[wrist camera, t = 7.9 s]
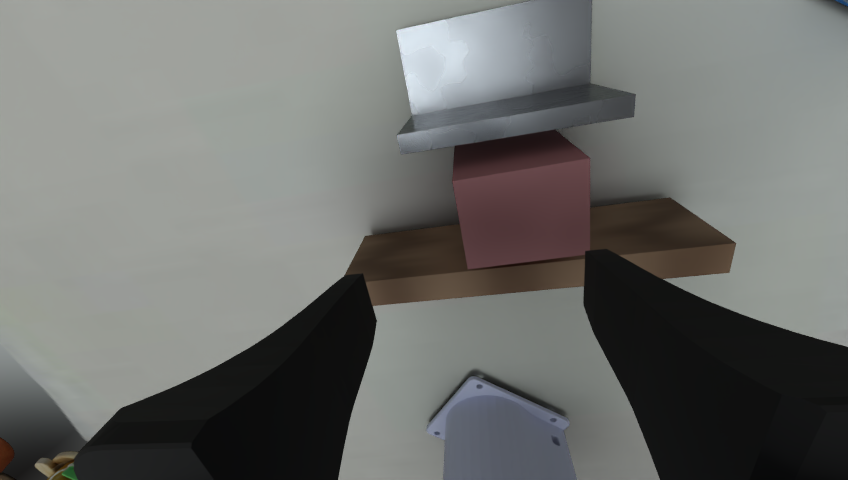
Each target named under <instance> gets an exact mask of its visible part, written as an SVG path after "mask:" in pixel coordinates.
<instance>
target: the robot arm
mask: <svg viewBox="0 0 848 480" xmlns="http://www.w3.org/2000/svg"><path fill="white" fill-rule="evenodd" d="M584 307H585V310H586V313H587V316H588V319H589V322H590V324H591V327H592V330H593V332H594V334H595V336H596V338H597V340H598V342H599V344H600V346H601V348H602V350H603V352H604V354H605V356H606V358H607V360H608V361H609V363H610V365H611V367H612V369H613V371H614V373H615V375H616V377H617V379H618V380H619V382H620V384H621V386H622V388H623V390H624V392H625V394H626V396H627V398H628V400H629V402H630V404H631V406H632V408H633V411H634V413H635V416H636V418H637V421H638V423H639V426H640V428H641V431H642V433H643V436H644V438H645V441H646V443H647V446H648V449H649V451H650V454H651V456H652V459H653V462H654V464H655V467H656V470H657V472H658V475H659V478H660V480H848V347H846V346H842V345H838V344H835V343H831V342H827V341H823V340H819V339H816V338H813V337H809V336H806V335H802V334H799V333H795V332H792V331H789V330H786V329H783V328H780V327H777V326H774V325H771V324H768V323H764V322H761V321H758V320H756V319H753V318H750V317H747V316H744V315H742V314H739V313H736V312H734V311H731V310H729V309H726V308H724V307H721V306H719V305H716V304H714V303H711V302H709V301H707V300H704V299H702V298H700V297H698V296H695V295H693V294H691V293H689V292H687V291H685V290H683V289H681V288H679V287H677V286H674V285H673V284H671V283H669V282H667V281H665V280H663V279H661V278H659V277H657V276H655V275H653V274H652V273H650V272H648V271H646V270H644V269H642V268H641V267H639V266H637V265H635V264H634V263H632V262H630V261H628V260H626V259H625V258H623V257H621V256H619V255H618V254H616V253H614V252H612V251H610V250H608V249H599V250H589V251H585V273H584ZM376 322H377V320H376V316H375V313H374V310H373V306H372V303H371V299H370V296H369V292H368V289H367V285H366V282H365V279H364V275H363V273H361V274H351V275H345V276H344V277H342V278H341V279H340V280H338V281H337V282H336V283H335V284H334V285H332V286H331V287H330V288H329V289H328V290H326V291H325V292H324V293H323V294H322V295H320V296H319V297H318V298H317V299H316V300H314V301H313V302H312V303H311V304H310V305H308V306H307V307H306V308H305V309H304V310H302V311H301V312H300V313H298V314H297V315H296V316H294V317H293V318H292V319H291V320H289V321H288V322H287V323H285V324H284V325H283V326H281V327H280V328H279V329H277V330H276V331H274V332H273V333H272V334H270V335H269V336H267V337H266V338H264V339H263V340H261V341H259V342H258V343H256V344H255V345H253V346H252V347H250V348H248V349H247V350H245V351H243V352H241V353H240V354H238V355H236V356H234V357H233V358H231V359H229V360H227V361H225V362H224V363H222V364H220V365H218V366H216V367H214V368H213V369H211V370H209V371H206V372H204V373H202V374H200V375H198V376H196V377H194V378H192V379H190V380H188V381H186V382H183V383H181V384H179V385H177V386H175V387H172V388H170V389H168V390H165V391H163V392H160V393H158V394H155V395H153V396H151V397H148V398H146V399H143V400H141V401H138V402H136V403H133V404H131V405H128V406H125V407H123V408H121V409H120V410H118V411H117V412H116V414H115V415H114V416H113V417H112V418H111V419H110V420H109V421H108V422H107V423H106V424H105V425H104V426H103V427H102V428H101V429H100V430H99V431H98V432H97V433H96V434H95V435H94V436H93V438H92V439H91V440H90V441H89V442H88V443H87V444H86V445H85V446H84V447H83V448H82V449H81V450H80V451H79V452H78V454H77V455H76V456H75V458H74V472H75V474H76V477H77V479H78V480H338V476H339V471H340V465H341V460H342V455H343V449H344V444H345V440H346V435H347V430H348V425H349V421H350V417H351V413H352V410H353V406H354V403H355V400H356V397H357V394H358V390H359V387H360V384H361V381H362V378H363V375H364V372H365V369H366V366H367V362H368V359H369V356H370V353H371V349H372V346H373V340H374V335H375V329H376ZM478 384H481V385H478ZM569 425H570V423H569V420H568V418H566V417H564V416H562V415H560V414H557V413H555V412H553V411H551V410H549V409H546V408H544V407H542V406H540V405H538V404H536V403H533V402H531V401H529V400H527V399H525V398H522V397H520V396H518V395H516V394H514V393H512V392H509V391H507V390H505V389H503V388H501V387H498V386H496V385H494V384H492V383H490V382H487V381H485V380H483V379H481V378H479V377H476V376H471V377H469V378H468V379H467V380H466V382H465V383H464V384H463V385H462V386H461V387H460V388H459V390H458V391H457V392H456V393H455V394H454V395H453V397H452V398H451V399H450V400H449V401H448V402H447V403H446V405H445V406H444V407H443V408H442V409H441V410H440V411H439V413H438V414H437V415H436V416H435V417H434V418H433V420H432V421H431V422H430V423H429V424H428V425H427V432H428V433H429V434H431V435H433V436H436V437H438V438H440V439H443V440H445V449H444V473H443V480H577V478H576V474H575V471H574V467H573V463H572V459H571V456H570V452H569V448H568V445H567V441H566V437H565V434H564V430H565V429H566V428H567V427H568V426H569Z"/></svg>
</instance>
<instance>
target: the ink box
mask: <svg viewBox="0 0 848 480" xmlns="http://www.w3.org/2000/svg"><path fill="white" fill-rule="evenodd" d="M835 1H837V2H839V3H841V4H843V5H845V6H847V7H848V0H835Z"/></svg>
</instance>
